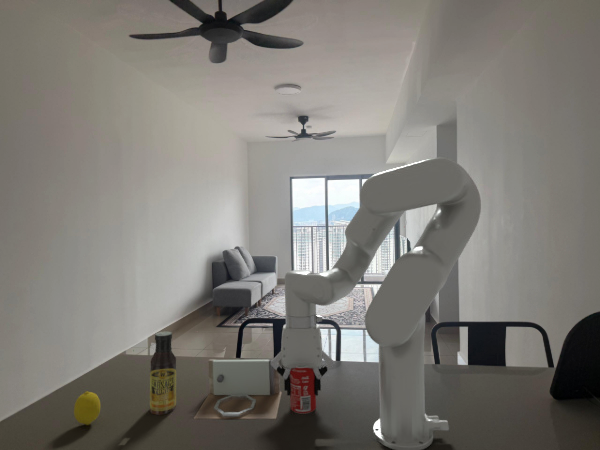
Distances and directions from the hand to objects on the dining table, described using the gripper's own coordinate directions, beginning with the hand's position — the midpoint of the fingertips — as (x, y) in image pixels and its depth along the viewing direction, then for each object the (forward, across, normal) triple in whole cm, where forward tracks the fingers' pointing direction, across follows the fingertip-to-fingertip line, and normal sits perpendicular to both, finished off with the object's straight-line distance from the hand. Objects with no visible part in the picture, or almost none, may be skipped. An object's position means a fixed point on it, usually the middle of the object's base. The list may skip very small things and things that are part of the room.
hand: (302, 392), depth 96 cm
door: (+3, +16, -6) cm, 17 cm away
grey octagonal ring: (+4, +17, 0) cm, 17 cm away
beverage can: (+5, 0, 0) cm, 5 cm away
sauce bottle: (+5, +35, 0) cm, 35 cm away
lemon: (+5, +51, +6) cm, 52 cm away
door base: (+5, +16, -2) cm, 17 cm away
